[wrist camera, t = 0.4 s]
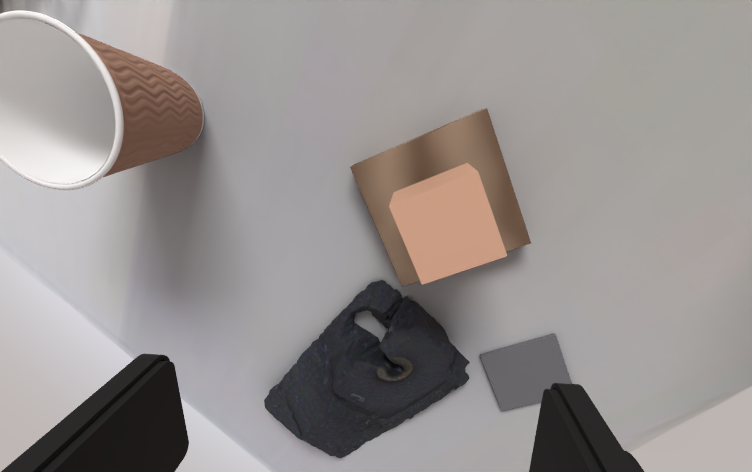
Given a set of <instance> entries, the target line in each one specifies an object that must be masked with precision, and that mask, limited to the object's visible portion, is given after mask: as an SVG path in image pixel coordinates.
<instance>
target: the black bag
mask: <svg viewBox="0 0 752 472" xmlns="http://www.w3.org/2000/svg"><path fill="white" fill-rule="evenodd" d="M399 300H401V301H402V303H401V301H399ZM398 301H399V302H398ZM364 310H369V311H371V312H372V314H373V316H375V317H376V318H377V319H378V320H379V321H380V322H381V323H383V324H384V325H385V327H386V328H389V330H388V331H387V332H386V334H385V337H384V338H383V340H382V342H381V343H380V341H379V339H378V338H377V337H376V336H374V335H373V334H372V333H370V332H368V331H367V330H365V329H363V328H361V327H360V326H359V325H357V324H356V323H354V317H355V314H356V313H358V312H361V311H364ZM469 363H470V362H469V361H468V360H467V359H466V358H465V357H464V356H463V355H462V354H461V353H460V352H459V351H458V350H457V349H456V347H455V346H454V345H452V344H451V343H450V342H449V340H448V337H447V335H446V332H445V330H444V329H443V327H442V326H441V325H440V324H439V323H438V322H437V321H436V320H435V319H434V318H433V317H431V316H430V315H429V314H428V313H427V312H426V311H425V310H424V309H423V308H422V307H421V306H420V305H419V304H418V303H417V302H415V301H410V300H409V297H408V296H407V297H405V298H402V295H401V293H400V292H399V291H398V290H395V291H394V290H393V289H392V287H391V286H390V285H388V284H386V282H385V281H383V280H381V281H378V282H372V283H371V284H369V285H368V286H367V288H366V289H365V290H364V291H362V292H360V293H359V294H358V295H357V296H356V297H355V298H354V300H353V301H352V302H351V303H350V304H349V305H348V306H347V307H346V308H345V309H344V310H343V311H342V312H341V313H340V314H339V315H338V316H337V317H336V318H335V319H334V320H333V321H332V323H331V325H329V326H328V327H327V328H326V329H325V331H324V333H322V334H321V335H320V337H319V339H317V340H315V341H314V342H313V343H312V345H311V346H310V347H309V348H308V349H307V350H306V351H305V352H304V353H303V354H302V355H301V356H300V358H299V359H298V361H297V363H296V364H295V365H293V367H292V368H291V369H290V371H289V372H288V373H287V374H286V375H285V376H284V378H283V379H282V381H281V382H280V383H279V384H277V385H276V386H274V387H273V388H272V389H271V390H270V392H269V395H268V396H267V397H266V399H265V400H264V402H265V408H266V409H267V410H268V411H269V412H270V413H271V414H272V415H273V416H274V417H275V418H276V419H277V420H278V421H280V422H281V423H282V424H283V425H284V426H285V427H286V428H287V429H289V430H290V431H291V432H292V433H293V434H294V435H295V436H296V437H297V438H299V439H301V440H303V441H306V442H307V443H309V444H310V445H312V446H314V447H317V448H318V449H320V450H323V451H324V452H326V453H327V454H329V455H330V456H336V457H338V458H342V457H344V456H346V455H348V454H350V453H351V452H353V451H355V450H357V449H358V448H359V447H360V446H362V445H363V444H364V443H365V442H367V441H370V440H372V439H374V438H375V437H378V436H379V435H381V434H382V433H384V432H386V431H388V430H390V429H392V428H394V427H396V426H398V425H399V424H401V423H402V422H403V421H405V420H406V419H410V418H412V417H413V416H414V415H415V414H417V413H419V412H420V411H423V410H424V409H426V408H427V407H429V406H430V405H431V404H432V403H435V402H436V401H438V400H440V399H442V398H443V397H444V396H446V395H447V394H448V393H450V392H451V391H453V390H456V389H457V388H458V387H460V386H462V385H464V384H465V383H466V382H467V380H468V379H469V376H468V374H467V373H465V367H466V366H467V365H468V364H469Z"/></svg>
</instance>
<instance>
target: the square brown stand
mask: <svg viewBox="0 0 752 472" xmlns="http://www.w3.org/2000/svg"><path fill="white" fill-rule="evenodd" d="M465 163H468V164H470V165H471V166H472V167H473V168H475V169H476V170H477V171H478V173H479V175H480V178H481V181H482V184H483V187H484V190H485V193H486V196H487V198H488V201H489V204H490V207H491V210H492V213H493V216H494V219H495V221H496V224H497V227H498V230H499V233H500V236H501V239H502V242H503V244H504V247H505V250H506V251H509V250H512V249H515V248H518V247H521V246H524V245H527V244H530V243H531V242H530V239H529V236H528V232H527V229H526V226H525V223H524V220H523V217H522V214H521V211H520V208H519V205H518V202H517V199H516V196H515V193H514V190H513V187H512V184H511V180H510V177H509V174H508V171H507V168H506V165H505V162H504V159H503V156H502V153H501V150H500V147H499V144H498V141H497V138H496V135H495V132H494V129H493V125H492V122H491V119H490V116H489V113H488V110H487V109H482V110H480V111H477V112H475V113H473V114H471V115H468V116H466V117H464V118H461V119H459V120H457V121H454V122H452V123H450V124H447V125H445V126H443V127H440V128H438V129H436V130H433V131H431V132H429V133H426V134H424V135H422V136H419V137H417V138H415V139H412V140H410V141H408V142H406V143H403V144H401V145H399V146H396V147H394V148H392V149H389V150H387V151H385V152H382V153H380V154H378V155H375V156H373V157H371V158H368V159H366V160H364V161H361V162H359V163H357V164H354V165H353V166H351V167H350V168H351V170H352V173H353V175H354V177H355V179H356V182H357V184H358V186H359V189H360V191H361V193H362V195H363V198H364V200H365V202H366V205H367V207H368V209H369V211H370V214H371V216H372V218H373V221H374V223H375V225H376V227H377V230H378V232H379V234H380V237H381V239H382V241H383V243H384V246H385V248H386V250H387V253H388V255H389V257H390V259H391V262H392V264H393V266H394V269H395V271H396V273H397V276H398V278H399V280H400V282H401V285H402V287H403V286H406V285H409V284H412V283H415V282H418V281H420V279H419V277H418V274H417V272H416V270H415V267H414V265H413V262H412V260H411V258H410V255H409V253H408V251H407V248H406V246H405V243H404V241H403V239H402V236H401V234H400V232H399V229H398V227H397V224H396V222H395V220H394V217H393V215H392V213H391V210H390V208H389V205H390V202H391V199H392V196H393V193H394V192H396V191H398V190H401V189H403V188H406V187H408V186H411V185H413V184H416V183H418V182H421V181H423V180H426V179H428V178H430V177H433V176H435V175H438V174H440V173H443V172H445V171H448V170H450V169H453V168H455V167H458V166H460V165H463V164H465Z"/></svg>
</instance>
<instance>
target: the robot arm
mask: <svg viewBox="0 0 752 472" xmlns="http://www.w3.org/2000/svg"><path fill="white" fill-rule="evenodd" d="M188 444H189V441H188V436H187V430H186V425H185V419H184V414H183V409H182V403H181V398H180V393H179V387H178V382H177V377H176V371H175V366H174V364H173V363H172V362H170V360H169V358H168V357H167V356H165V355H154V354H141V355H140V356H138V357H137V358H135V359H134V360H133V361H132V362H131V363H130V364H128V365H127V366H126V367H125V368H124V369H122V370H121V371H120V372H119V373H118V374H117V375H115V376H114V377H113V378H112V379H111V380H110V381H108V382H107V383H106V384H105V385H104V386H102V387H101V388H100V389H99V390H98V391H96V392H95V393H94V394H93V395H92V396H90V397H89V398H88V399H87V400H86V401H84V402H83V403H82V404H81V405H80V406H79V407H77V408H76V409H75V410H74V411H73V412H71V413H70V414H69V415H68V416H67V417H66V418H64V419H63V420H62V421H61V422H60V423H58V424H57V425H56V426H55V427H54V428H52V429H51V430H50V431H49V432H48V433H46V434H45V435H44V436H43V437H42V438H41V439H39V440H38V441H37V442H36V443H35V444H33V445H32V446H31V447H30V448H29V449H28V450H26V451H25V452H24V453H23V454H22V455H20V456H19V457H18V458H17V459H16V460H14V461H13V462H12V463H11V464H10V465H9V466H8V467H6V468H5V469H4V470H3V471H2V472H175V470H176V468H177V467H178V466H179V464H180V463H181V461H182V460H183V459H184V457H185V455H186V453H187V450H188ZM529 472H644V471H643V469H642V468H641V466H640V465H639V463H638V462H637V461H636V459H635V458H634V457H633V456H632V455H631V454H630V453H628V452H627V451H624V450H623V449H622V447H621V446H620V444H619V442H618V441H617V439H616V438H615V436H614V435H613V433H612V432H611V430H610V429H609V427H608V425H607V424H606V422H605V421H604V419H603V418H602V416H601V415H600V413H599V412H598V410H597V408H596V407H595V405H594V404H593V402H592V401H591V399H590V398H589V396H588V394H587V393H586V391H585V390H584V388H583V387H582V386H581V385H578V384H564V383H553V384H552V386H551V389H545V390H544V392H543V397H542V402H541V408H540V414H539V419H538V425H537V431H536V436H535V442H534V447H533V453H532V459H531V464H530V470H529Z"/></svg>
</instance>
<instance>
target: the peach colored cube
mask: <svg viewBox="0 0 752 472" xmlns="http://www.w3.org/2000/svg"><path fill="white" fill-rule="evenodd" d="M389 208H390V210H391V213H392V215H393V217H394V220H395V222H396V224H397V227H398V229H399V232H400V234H401V236H402V239H403V241H404V243H405V246H406V248H407V251H408V253H409V255H410V258H411V260H412V262H413V265H414V267H415V270H416V272H417V274H418V277H419V279H420V281H421V284H422V285H423V284H426V283H429V282H432V281H435V280H438V279H441V278H444V277H447V276H450V275H453V274H456V273H459V272H462V271H465V270H468V269H471V268H474V267H477V266H479V265H482V264H485V263H488V262H491V261H494V260H497V259H500V258H503V257H506V256H507V253H506V250H505V247H504V244H503V242H502V239H501V236H500V233H499V230H498V227H497V224H496V221H495V219H494V216H493V213H492V210H491V207H490V204H489V201H488V198H487V196H486V193H485V190H484V187H483V184H482V181H481V178H480V175H479V173H478V171H477V170H476V169H475V168H473V167H472V166H471V165H470V164H468V163H465V164H463V165H460V166H458V167H455V168H453V169H450V170H448V171H445V172H443V173H440V174H438V175H435V176H433V177H430V178H428V179H426V180H423V181H421V182H418V183H416V184H413V185H411V186H408V187H406V188H403V189H401V190H398V191H396V192H394V193H393V196H392V199H391V202H390V205H389Z"/></svg>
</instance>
